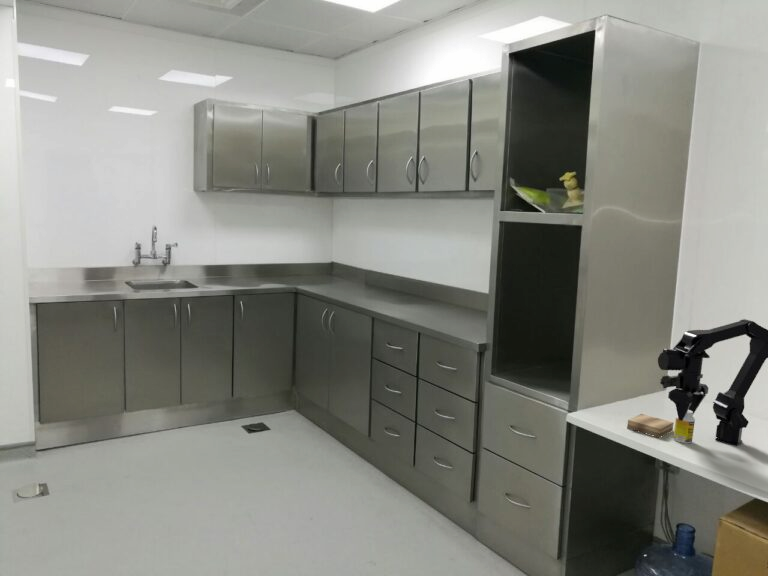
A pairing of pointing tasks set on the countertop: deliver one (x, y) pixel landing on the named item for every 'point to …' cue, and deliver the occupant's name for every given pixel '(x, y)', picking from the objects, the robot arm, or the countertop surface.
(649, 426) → the brown box
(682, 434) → the supplement bottle
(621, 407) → the countertop surface
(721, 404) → the robot arm
